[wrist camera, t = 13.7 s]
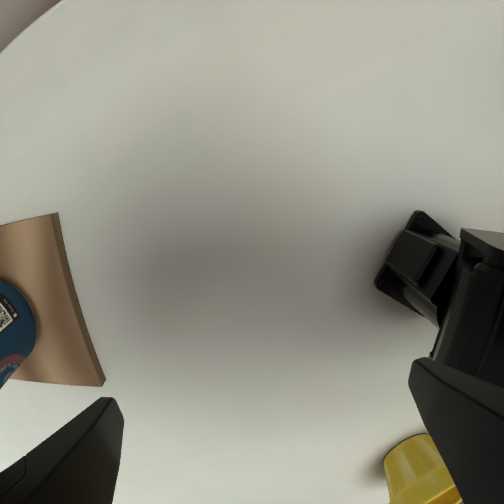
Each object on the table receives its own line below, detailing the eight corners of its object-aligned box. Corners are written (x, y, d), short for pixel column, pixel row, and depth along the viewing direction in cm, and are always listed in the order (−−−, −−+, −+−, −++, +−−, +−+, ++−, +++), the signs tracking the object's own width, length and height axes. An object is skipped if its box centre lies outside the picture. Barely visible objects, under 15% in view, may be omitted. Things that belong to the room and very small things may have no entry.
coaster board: (57, 212, 19) (50, 215, 18) (105, 379, 23) (102, 386, 22) (-49, 238, 18) (-55, 241, 17) (-3, 370, 22) (-8, 375, 21)
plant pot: (455, 430, 29) (489, 479, 19) (397, 479, 31) (420, 530, 21) (420, 412, 27) (462, 475, 17) (352, 468, 28) (376, 533, 19)
